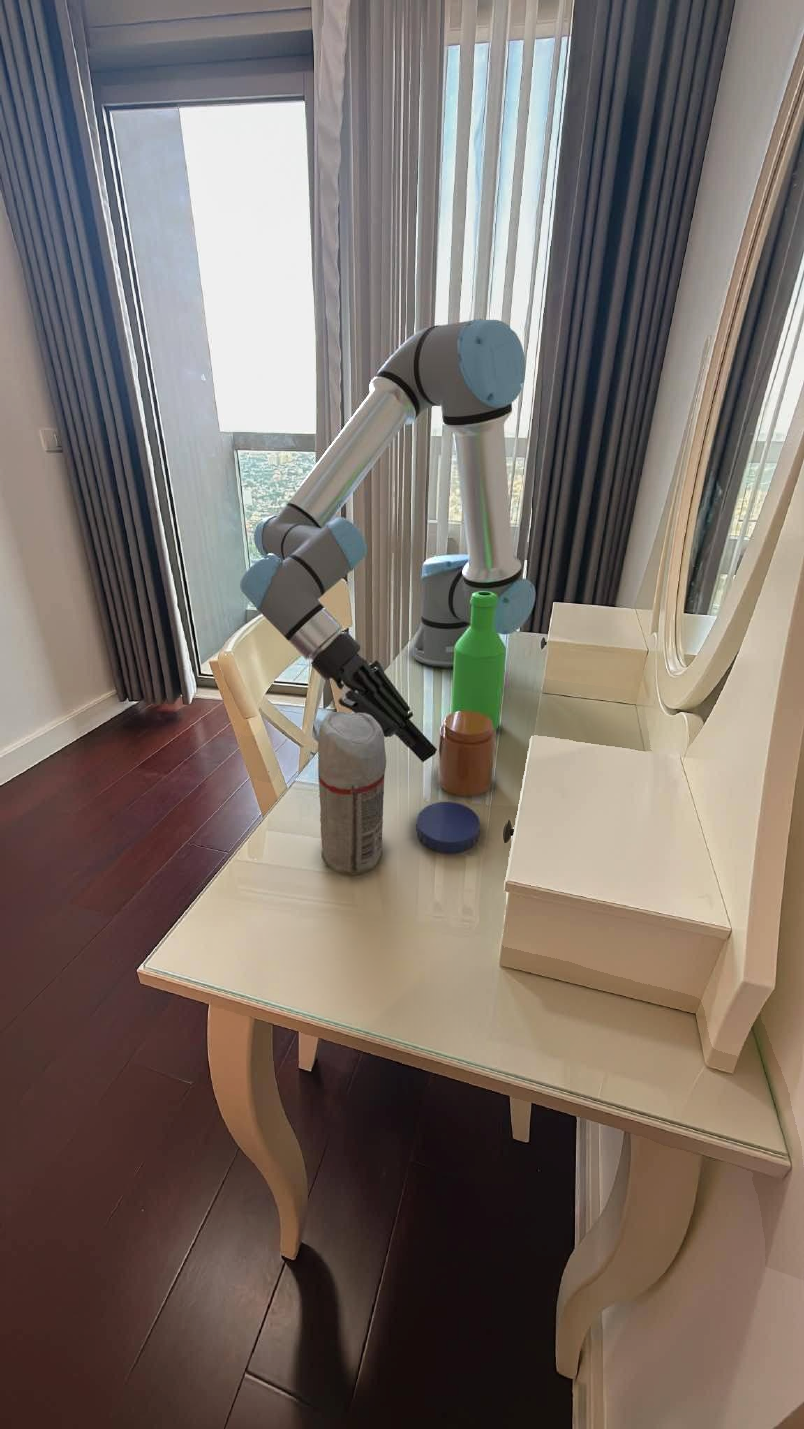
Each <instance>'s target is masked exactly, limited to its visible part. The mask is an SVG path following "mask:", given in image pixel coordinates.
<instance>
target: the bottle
mask: <svg viewBox="0 0 804 1429" xmlns="http://www.w3.org/2000/svg"><path fill="white" fill-rule="evenodd" d="M470 604H471V605H472V609H471V625H470V627H469V628H468V629H467V630H466V632H465V633H464V634H463V635H462V637H461V638H460V639H459V640H458V642H457V643H456V645H455V649H454V668H452V689H451V711H450V714H451V713H454V712H458V711H474V712H478V713H482V714H484V715H486V716H487V717H489V718H490V719H491V721H492V723H493V728H494V729H495V730H497V729H498V728H499V724H500V718H501V707H502V698H503V688H504V676H505V667H506V656H507V647H506V645H505V644H504V642H503V640H502V638H501V637H500V634H499V633H497V631H496V630H495V628H494V619H495V606H496V605H498V598H497V595H496V594H494V593H492V592H488V591H479V592H475V593H473V594H472V597H471V600H470Z"/></svg>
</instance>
